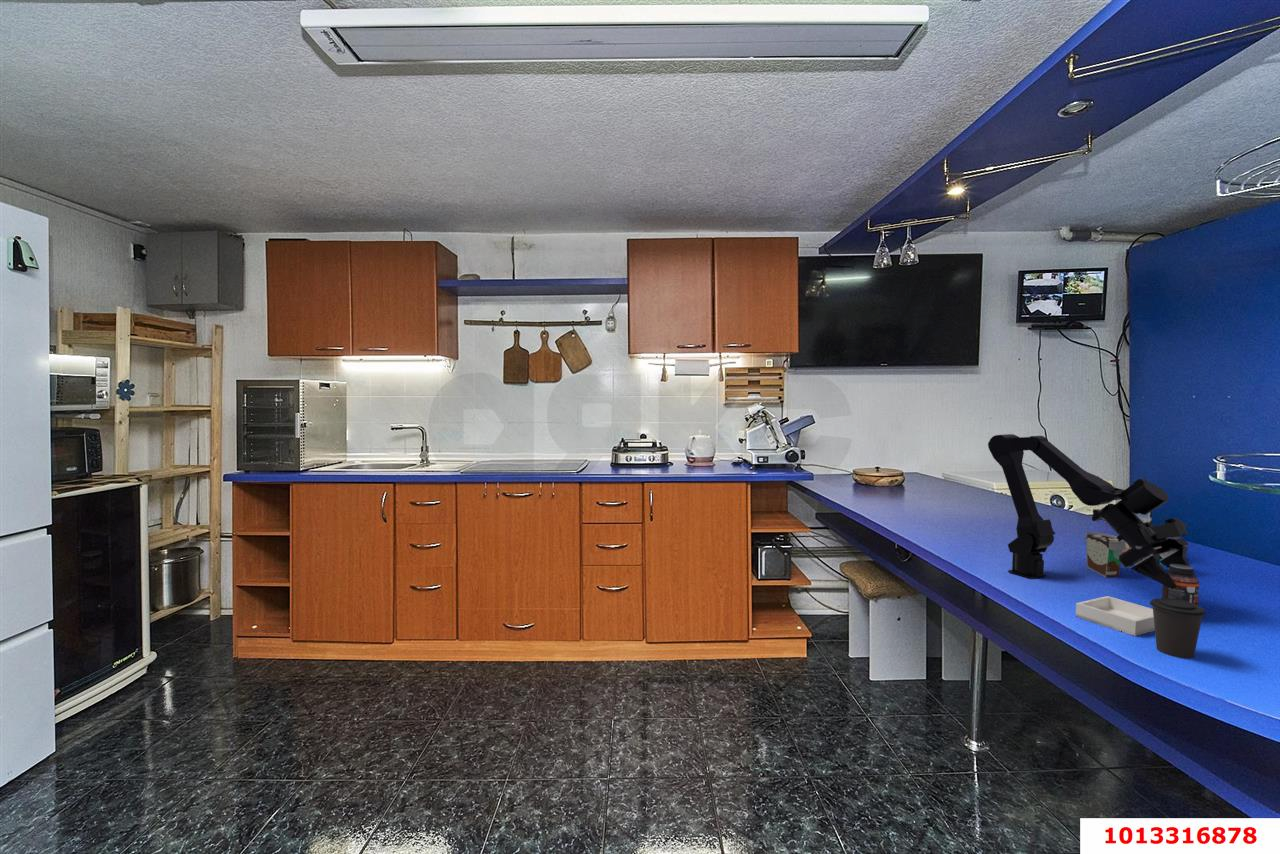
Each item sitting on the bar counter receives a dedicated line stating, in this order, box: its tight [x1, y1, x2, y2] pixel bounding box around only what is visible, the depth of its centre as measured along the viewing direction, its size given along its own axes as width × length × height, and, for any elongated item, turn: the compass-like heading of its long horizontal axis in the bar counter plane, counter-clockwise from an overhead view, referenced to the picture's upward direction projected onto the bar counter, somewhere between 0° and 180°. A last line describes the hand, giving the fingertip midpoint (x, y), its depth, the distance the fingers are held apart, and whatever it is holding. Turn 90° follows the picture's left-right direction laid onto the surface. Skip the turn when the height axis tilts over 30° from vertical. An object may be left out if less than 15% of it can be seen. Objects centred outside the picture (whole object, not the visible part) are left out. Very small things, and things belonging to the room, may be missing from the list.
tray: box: [1075, 595, 1155, 637], centre depth 127 cm, size 11×11×3 cm
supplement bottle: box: [1161, 564, 1200, 606], centre depth 130 cm, size 6×6×11 cm
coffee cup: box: [1149, 597, 1207, 659], centre depth 112 cm, size 8×8×10 cm
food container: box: [1084, 531, 1126, 578], centre depth 161 cm, size 12×6×10 cm, turn 168°
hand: (1185, 585), depth 129 cm, fingers open, 9 cm apart
